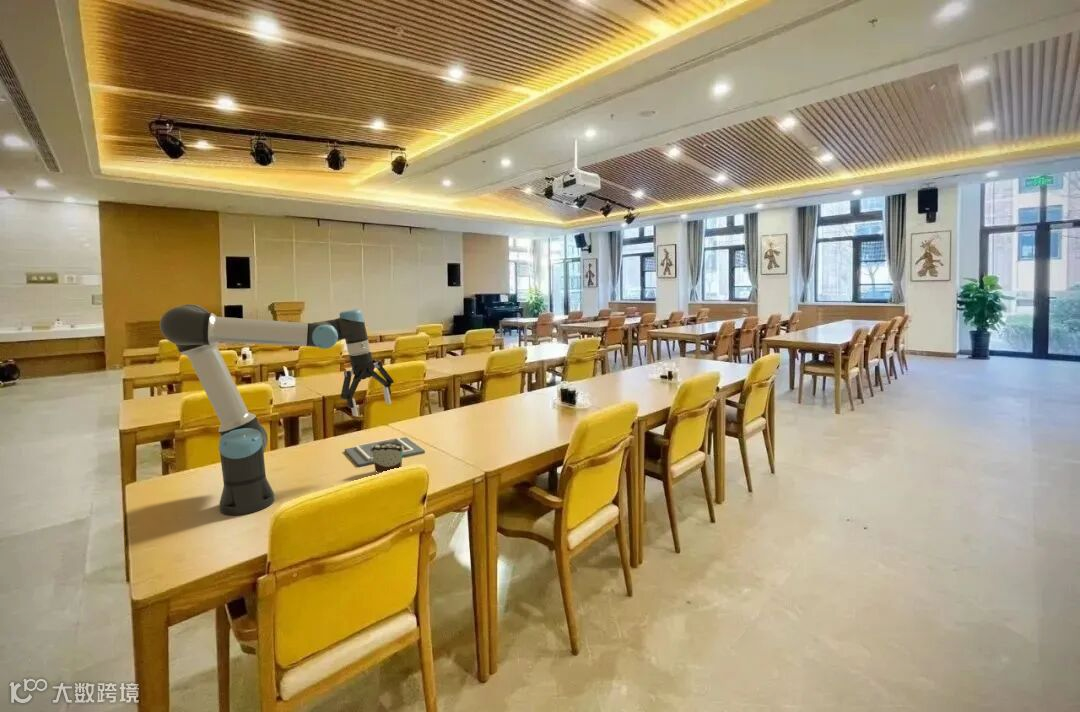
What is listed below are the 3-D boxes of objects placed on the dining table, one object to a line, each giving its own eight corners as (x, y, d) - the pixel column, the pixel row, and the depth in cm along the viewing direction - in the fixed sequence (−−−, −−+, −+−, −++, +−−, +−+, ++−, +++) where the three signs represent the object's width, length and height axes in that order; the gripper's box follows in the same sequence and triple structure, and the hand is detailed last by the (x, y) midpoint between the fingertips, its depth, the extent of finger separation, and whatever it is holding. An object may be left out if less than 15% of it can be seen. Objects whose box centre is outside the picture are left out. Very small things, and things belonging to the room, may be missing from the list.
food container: (410, 466, 197) (408, 441, 195) (404, 473, 191) (402, 446, 189) (378, 466, 198) (376, 440, 196) (371, 472, 192) (369, 446, 190)
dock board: (359, 466, 198) (358, 461, 197) (344, 451, 216) (344, 446, 215) (424, 452, 212) (424, 448, 212) (406, 439, 230) (405, 435, 230)
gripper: (332, 362, 175) (346, 422, 180) (395, 344, 193) (407, 399, 197) (321, 361, 180) (335, 420, 185) (384, 344, 198) (395, 398, 202)
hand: (372, 409), depth 191 cm, fingers open, 13 cm apart
